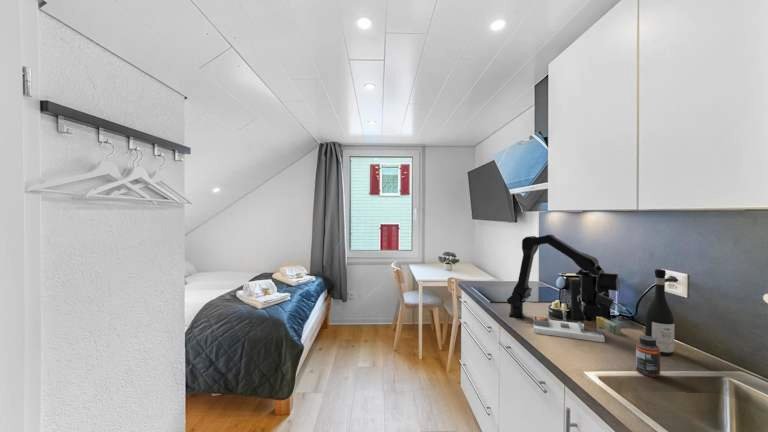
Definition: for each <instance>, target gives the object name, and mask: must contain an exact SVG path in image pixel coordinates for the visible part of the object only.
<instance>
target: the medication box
mask: <svg viewBox="0 0 768 432" xmlns="http://www.w3.org/2000/svg"><path fill="white" fill-rule="evenodd" d="M595 322H597V324H598V325H599V327H600V329H603V330H605V331H607V332H608V333H611V334H613V335H615V336H616V335H617V336H618V335H619V336H620V335H622V334H621V331H622V330H621V329H622V326H621V325H620V324H618V323H616V322H613V321H611V320H609V319H608V318H605V317H603V316H596V321H595Z"/></svg>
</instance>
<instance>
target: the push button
mask: <svg viewBox="0 0 768 432" xmlns="http://www.w3.org/2000/svg"><path fill="white" fill-rule="evenodd" d="M546 318H547V317H543V316H536V320H538V321H546Z"/></svg>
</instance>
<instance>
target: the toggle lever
mask: <svg viewBox="0 0 768 432" xmlns="http://www.w3.org/2000/svg"><path fill="white" fill-rule="evenodd" d="M567 314H568V313H567V311H565V310H563V311H561V315H562V321H563V322H567Z"/></svg>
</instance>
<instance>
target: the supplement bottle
mask: <svg viewBox="0 0 768 432" xmlns="http://www.w3.org/2000/svg"><path fill="white" fill-rule="evenodd" d="M635 368H636V372H638V373H639V374H641V375H643V376H646V377H650V378H651V377H652V378H657V377H659V376H660V375H661V355H660V348H659V347H658V346H657V345H656V339H655V338H653V337H650V336H645V335H640V336H639V341H638V342H636V344H635Z"/></svg>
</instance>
